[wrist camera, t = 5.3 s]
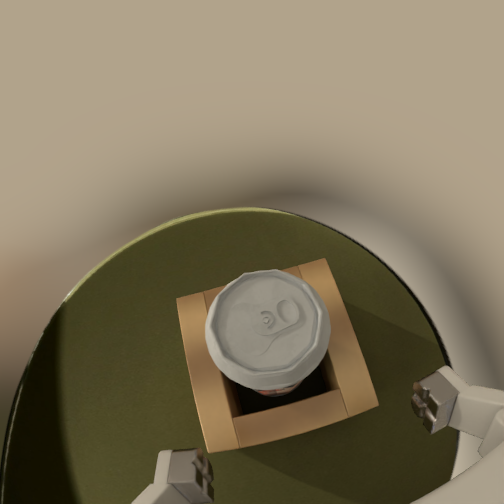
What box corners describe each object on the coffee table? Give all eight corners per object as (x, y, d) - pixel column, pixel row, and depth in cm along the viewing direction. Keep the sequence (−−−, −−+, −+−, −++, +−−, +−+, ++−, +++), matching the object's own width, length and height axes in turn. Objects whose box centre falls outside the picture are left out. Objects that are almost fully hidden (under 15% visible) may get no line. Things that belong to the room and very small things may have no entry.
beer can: (232, 349, 21) (181, 288, 11) (289, 324, 22) (295, 240, 11) (257, 406, 19) (228, 410, 8) (317, 379, 19) (359, 349, 9)
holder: (358, 405, 18) (379, 405, 14) (224, 443, 18) (208, 453, 13) (317, 287, 23) (325, 257, 19) (196, 320, 23) (175, 297, 18)
